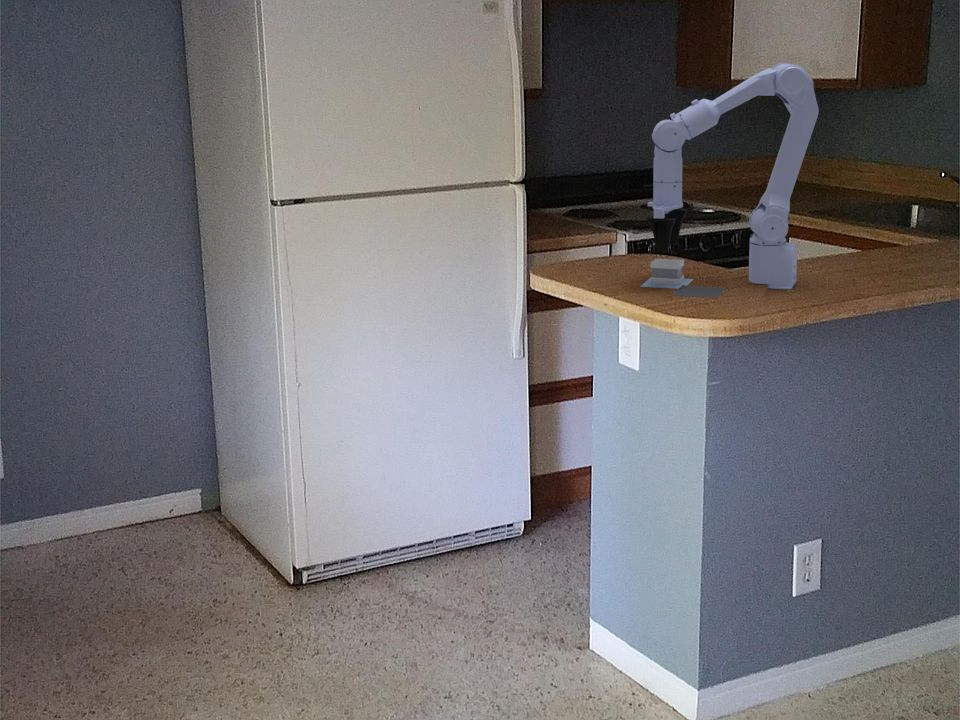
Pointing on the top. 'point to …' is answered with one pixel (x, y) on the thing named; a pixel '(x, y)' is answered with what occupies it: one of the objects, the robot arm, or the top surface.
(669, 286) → the stand
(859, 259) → the top surface
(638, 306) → the top surface
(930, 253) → the top surface
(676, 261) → the block
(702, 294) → the stand
